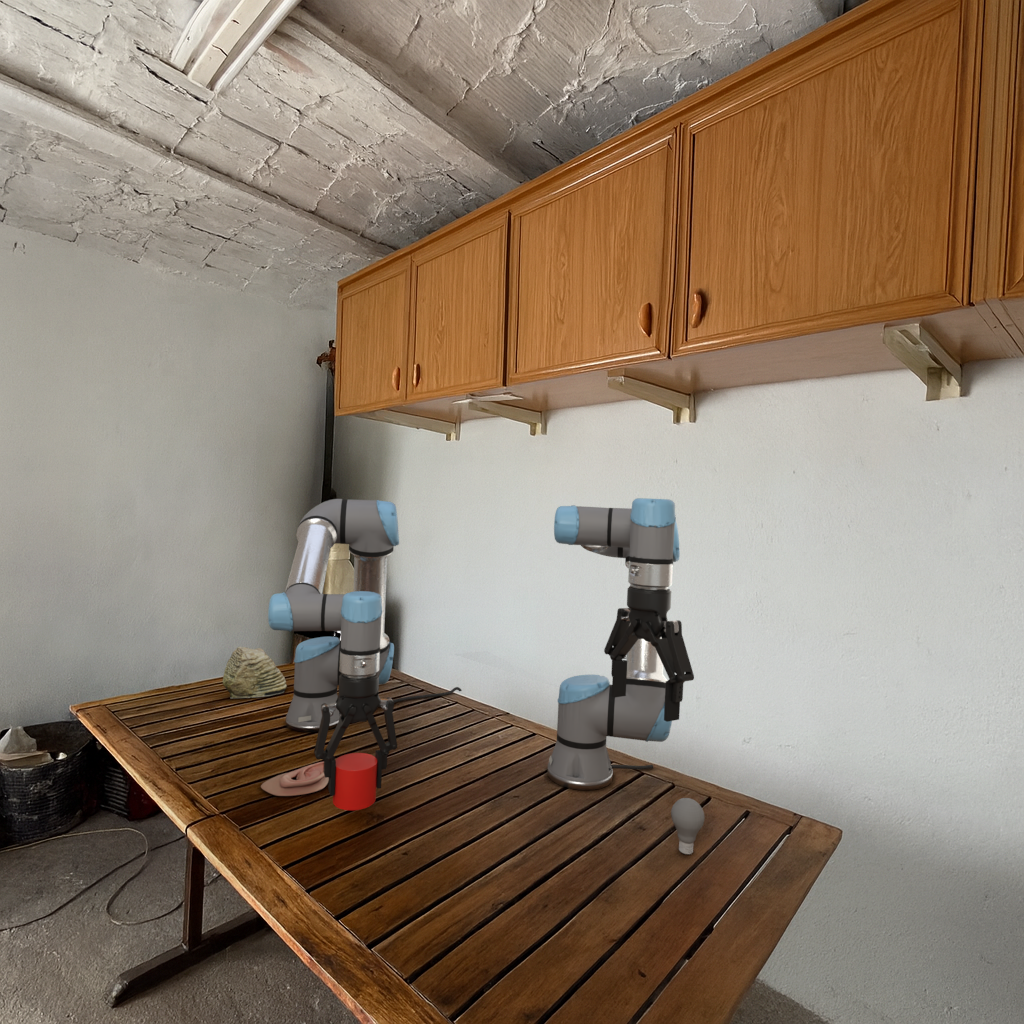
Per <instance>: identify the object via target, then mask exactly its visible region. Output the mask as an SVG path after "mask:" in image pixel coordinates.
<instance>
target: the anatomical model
mask: <svg viewBox="0 0 1024 1024" xmlns="http://www.w3.org/2000/svg"><path fill="white" fill-rule="evenodd" d="M323 771H324V760H322V761H320V762H316V763H312V764H309V765H306V766H302V767H300V768H298V769H295V770H292V771H289V772H285V773H281V774H278V775H276V776H273V777H271V778H269V779H267V780H266V781H264V782H262V783H261V785H260V788H261V789H262V790H263V791H264V792H266V793H268V794H270V795H273V796H276V797H293V796H300V795H301V796H302V795H307V794H311V793H315V792H318V791H321V790H323V789H324V788H325V787H326V786H328V784H329V777H326V778H325V775H324V772H323Z"/></svg>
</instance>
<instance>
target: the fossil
mask: <svg viewBox="0 0 1024 1024" xmlns="http://www.w3.org/2000/svg"><path fill="white" fill-rule="evenodd" d="M222 676H223V677H222V685H223V687H224V688H225V690H226V691H228V693H229V698H230V699H250V698H264V697H271V696H275V695H281V694H284V693H285V691H286V689H287V687H288V686H287V680H286V678H285V676H284V674H283V673H282V672H281V669H279V668H278V667H277V665H276V663H275V662H274V660H273V659H272V658H271V657H270V656H269V655H268V654H267V653H266V652H265V650H264V649H263V648H260V647H258V648H251V647H247V646H246V647H245V646H238V647H237V648H236V649H235V650H233V651H232V653H231V656H230V657H229V659H228V660H227V663H226V666H225V668H224V671H223V675H222Z"/></svg>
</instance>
